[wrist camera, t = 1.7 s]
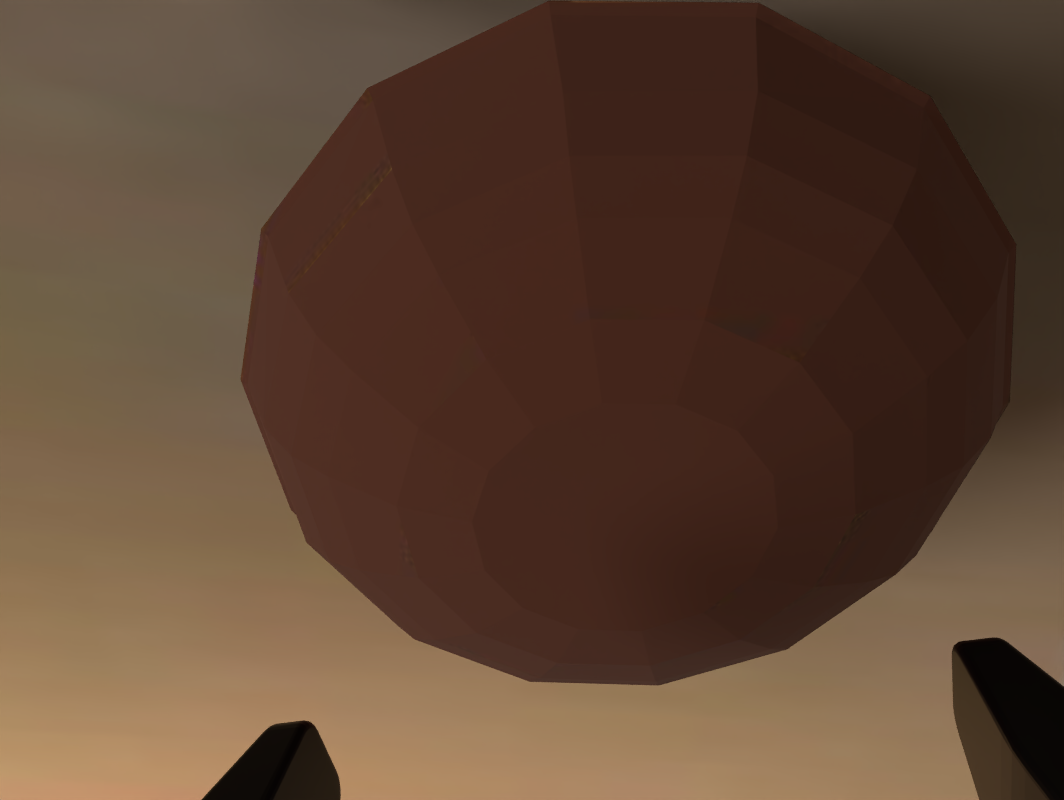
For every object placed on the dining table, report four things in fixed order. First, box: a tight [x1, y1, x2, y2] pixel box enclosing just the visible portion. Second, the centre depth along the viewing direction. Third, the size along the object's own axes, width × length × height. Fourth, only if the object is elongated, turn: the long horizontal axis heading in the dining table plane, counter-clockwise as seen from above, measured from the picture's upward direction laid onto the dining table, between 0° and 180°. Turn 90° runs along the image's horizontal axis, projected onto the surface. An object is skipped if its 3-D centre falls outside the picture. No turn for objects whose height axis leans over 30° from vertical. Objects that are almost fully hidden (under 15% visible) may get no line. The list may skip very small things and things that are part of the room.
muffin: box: [241, 1, 1016, 685], centre depth 16 cm, size 12×11×10 cm
